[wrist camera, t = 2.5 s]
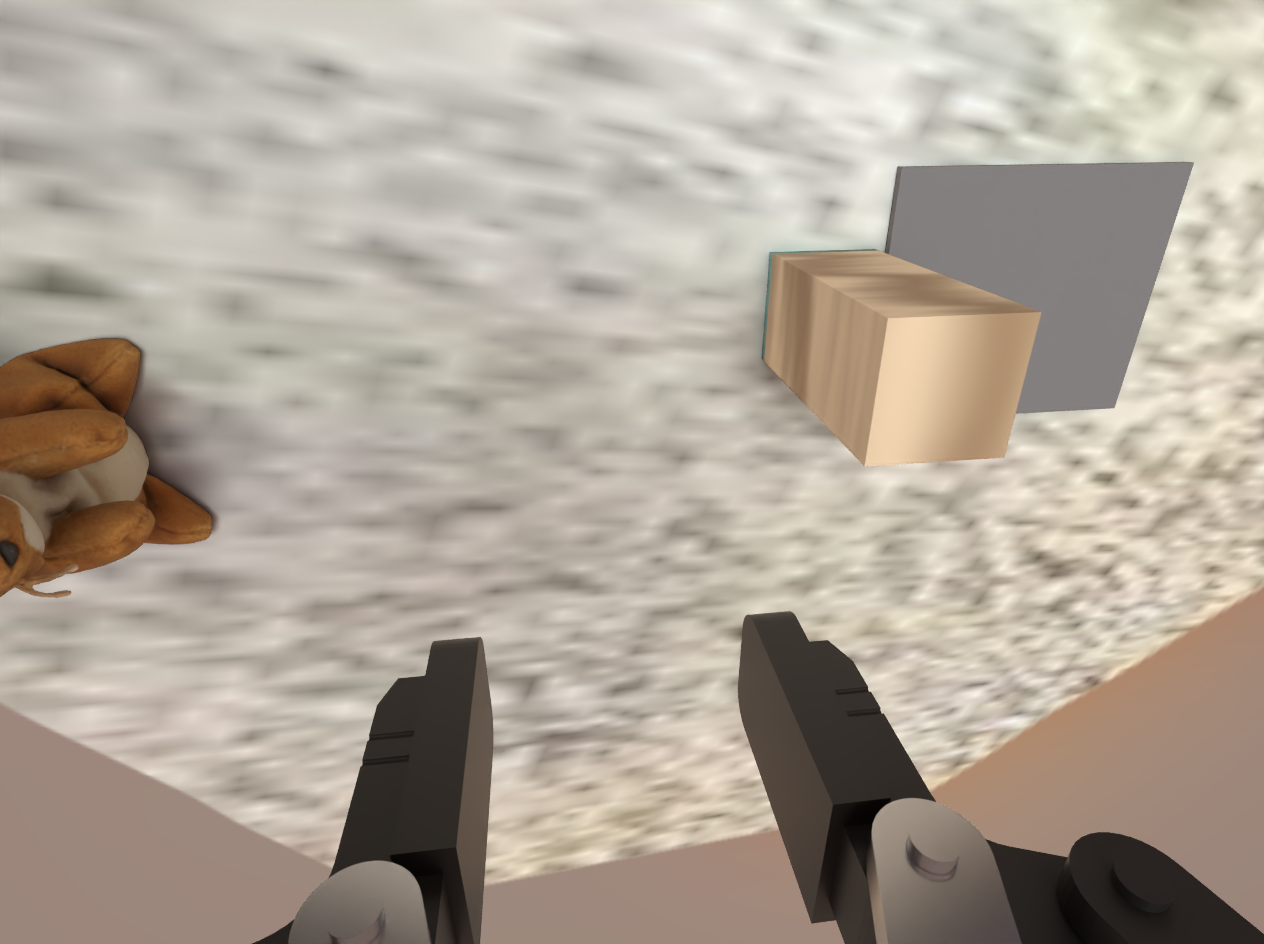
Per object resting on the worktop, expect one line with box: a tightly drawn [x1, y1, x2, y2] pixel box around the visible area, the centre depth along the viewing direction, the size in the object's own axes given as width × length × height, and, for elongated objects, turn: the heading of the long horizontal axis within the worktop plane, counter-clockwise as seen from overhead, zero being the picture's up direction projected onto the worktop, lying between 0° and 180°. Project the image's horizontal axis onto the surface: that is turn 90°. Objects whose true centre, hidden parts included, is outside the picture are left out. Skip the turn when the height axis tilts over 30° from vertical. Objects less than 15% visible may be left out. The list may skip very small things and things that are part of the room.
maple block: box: [762, 249, 1041, 466], centre depth 28 cm, size 5×5×12 cm
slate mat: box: [885, 162, 1194, 414], centre depth 34 cm, size 14×12×1 cm
